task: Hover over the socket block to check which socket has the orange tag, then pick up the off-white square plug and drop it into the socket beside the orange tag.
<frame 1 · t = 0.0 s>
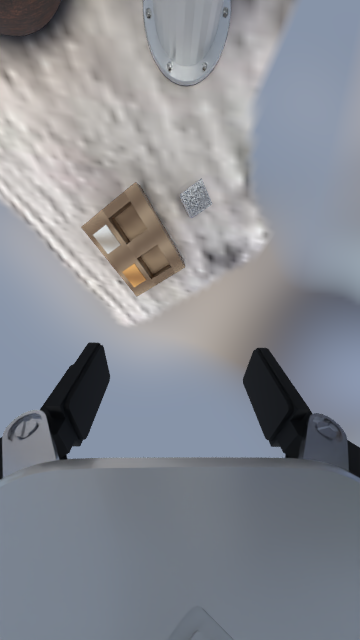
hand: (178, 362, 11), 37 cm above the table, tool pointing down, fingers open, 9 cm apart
plug: (192, 201, 37), on the table
socket block: (140, 244, 42), on the table
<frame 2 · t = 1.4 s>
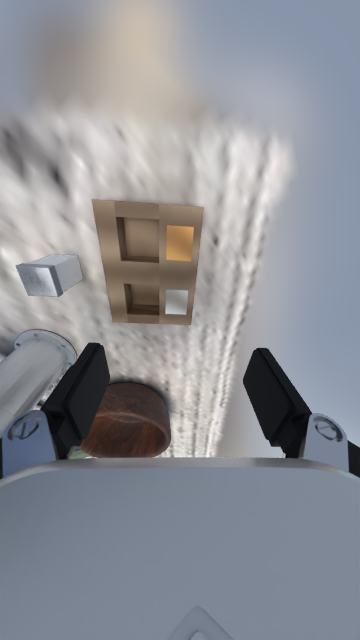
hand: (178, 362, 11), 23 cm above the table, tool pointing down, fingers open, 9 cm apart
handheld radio: (88, 435, 62), on the table
wooden bowl: (130, 402, 52), on the table
plug: (68, 266, 30), on the table
socket block: (154, 265, 31), on the table
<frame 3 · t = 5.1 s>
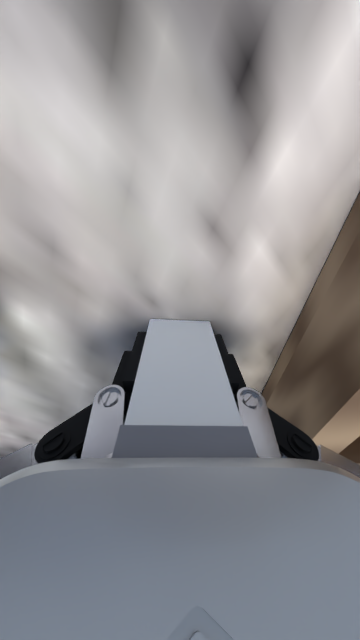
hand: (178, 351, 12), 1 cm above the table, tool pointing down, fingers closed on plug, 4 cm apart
plug: (178, 343, 13), on the table, touching gripper
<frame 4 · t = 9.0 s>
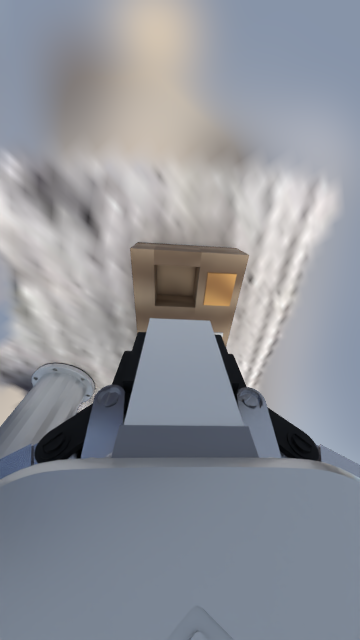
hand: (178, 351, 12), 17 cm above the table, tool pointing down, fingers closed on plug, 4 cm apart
plug: (178, 342, 12), point 17 cm above the table, touching gripper
socket block: (183, 302, 29), on the table
when the fingers open (6 cm above the table, at t = 12.0 s): plug drops 4 cm, resting on socket block.
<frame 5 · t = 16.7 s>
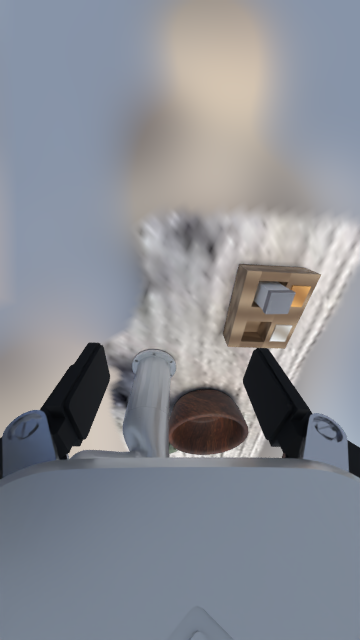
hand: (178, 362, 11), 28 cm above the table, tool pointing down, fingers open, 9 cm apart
wooden bowl: (203, 405, 62), on the table
plug: (261, 287, 37), point 1 cm above the table, touching socket block
socket block: (259, 304, 41), on the table
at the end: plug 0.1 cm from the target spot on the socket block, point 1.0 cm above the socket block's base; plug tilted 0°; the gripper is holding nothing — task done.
